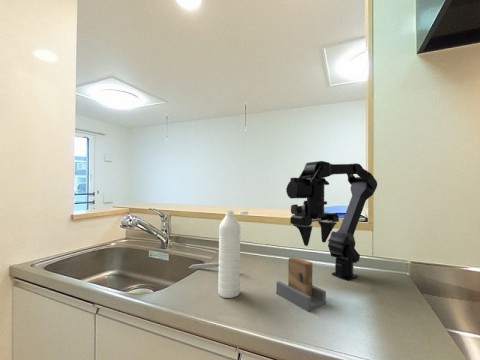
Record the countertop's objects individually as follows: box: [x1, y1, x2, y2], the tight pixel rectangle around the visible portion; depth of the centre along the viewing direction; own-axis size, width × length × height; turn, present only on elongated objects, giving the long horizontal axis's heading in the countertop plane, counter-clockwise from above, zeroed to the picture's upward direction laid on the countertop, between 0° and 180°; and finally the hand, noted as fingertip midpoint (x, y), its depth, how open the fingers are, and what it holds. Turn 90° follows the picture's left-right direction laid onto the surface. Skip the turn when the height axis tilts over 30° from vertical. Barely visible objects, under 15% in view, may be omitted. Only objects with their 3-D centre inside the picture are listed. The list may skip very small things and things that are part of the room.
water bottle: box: [217, 210, 249, 299], centre depth 71 cm, size 9×6×25 cm
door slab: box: [287, 256, 313, 298], centre depth 68 cm, size 4×6×10 cm, turn 34°
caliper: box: [188, 261, 219, 270], centre depth 89 cm, size 20×1×6 cm, turn 73°
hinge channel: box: [275, 280, 327, 312], centre depth 68 cm, size 7×12×4 cm, turn 34°
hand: (315, 244), depth 80 cm, fingers open, 9 cm apart
